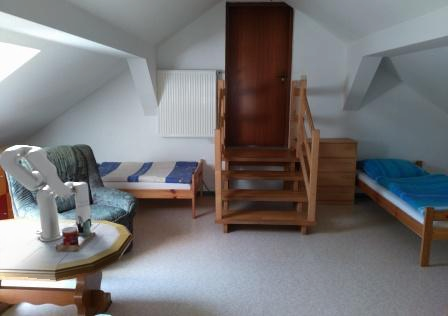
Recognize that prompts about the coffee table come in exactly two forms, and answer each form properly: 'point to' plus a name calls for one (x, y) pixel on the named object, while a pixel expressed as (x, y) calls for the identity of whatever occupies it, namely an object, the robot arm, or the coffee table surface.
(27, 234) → the coffee table surface
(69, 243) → the canned food
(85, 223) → the wooden rectangular frame
